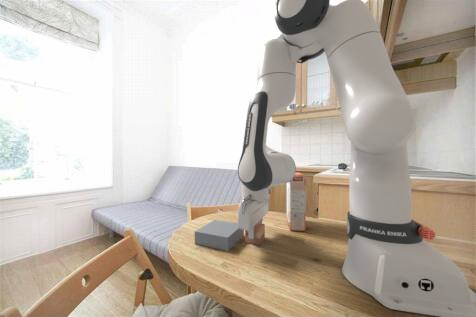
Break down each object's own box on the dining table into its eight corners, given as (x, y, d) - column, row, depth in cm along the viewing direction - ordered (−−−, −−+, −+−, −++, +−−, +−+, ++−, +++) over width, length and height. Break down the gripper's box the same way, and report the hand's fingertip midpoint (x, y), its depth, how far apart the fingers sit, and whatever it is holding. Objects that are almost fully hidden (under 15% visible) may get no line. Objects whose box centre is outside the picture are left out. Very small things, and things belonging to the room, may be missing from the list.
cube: (264, 238, 65) (264, 224, 65) (260, 245, 60) (259, 229, 60) (250, 236, 67) (250, 222, 67) (245, 242, 62) (245, 226, 62)
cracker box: (306, 232, 70) (306, 174, 70) (289, 231, 71) (289, 174, 71) (300, 219, 84) (299, 171, 84) (286, 219, 85) (285, 171, 85)
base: (243, 235, 68) (243, 224, 68) (227, 251, 57) (227, 237, 57) (214, 230, 73) (214, 220, 73) (194, 243, 62) (194, 231, 62)
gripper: (252, 199, 53) (253, 249, 53) (272, 188, 71) (272, 225, 71) (232, 197, 55) (232, 245, 56) (255, 187, 74) (256, 223, 74)
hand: (255, 234), depth 64 cm, fingers closed on cube, 5 cm apart
